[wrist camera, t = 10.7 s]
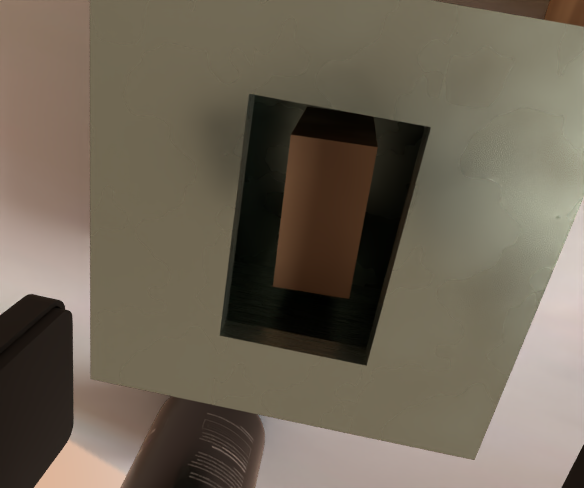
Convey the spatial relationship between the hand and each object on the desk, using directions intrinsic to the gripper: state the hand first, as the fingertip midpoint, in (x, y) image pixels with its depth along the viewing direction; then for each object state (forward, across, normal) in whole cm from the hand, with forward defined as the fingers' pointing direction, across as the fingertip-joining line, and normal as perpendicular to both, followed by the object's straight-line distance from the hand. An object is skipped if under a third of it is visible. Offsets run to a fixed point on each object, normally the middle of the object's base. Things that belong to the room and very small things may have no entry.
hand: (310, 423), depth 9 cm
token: (+16, +1, 0) cm, 17 cm away
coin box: (+17, +1, -1) cm, 17 cm away
